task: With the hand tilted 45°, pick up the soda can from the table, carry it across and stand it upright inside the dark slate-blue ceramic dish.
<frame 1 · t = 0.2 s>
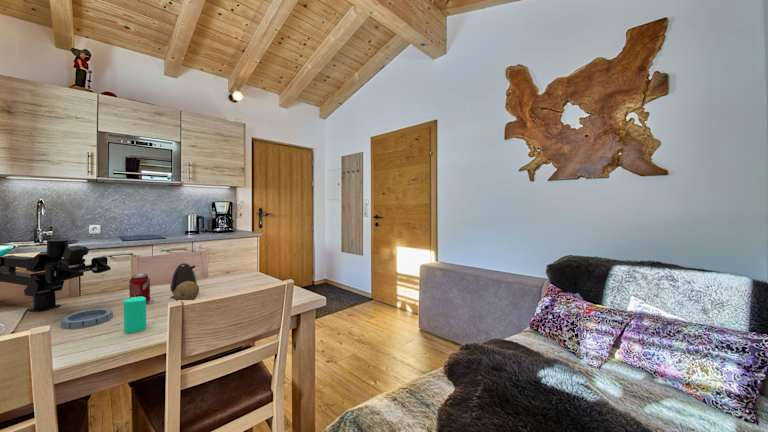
hand: (97, 271, 112), 17 cm above the table, tool horizontal, fingers open, 9 cm apart
dish: (87, 320, 107), on the table
candle: (135, 329, 102), on the table
natural sponge: (186, 304, 126), on the table
dark rounded figure: (184, 296, 137), on the table
soda can: (140, 303, 125), on the table
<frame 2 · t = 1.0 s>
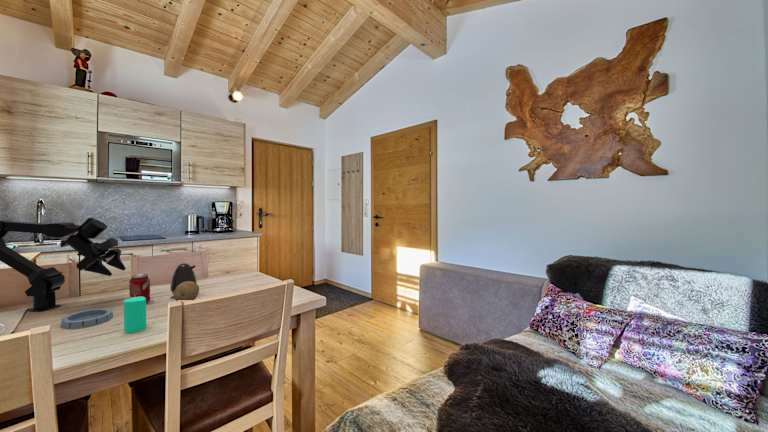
hand: (118, 272, 123), 14 cm above the table, tool tilted 45°, fingers open, 9 cm apart
nothing on the table moved.
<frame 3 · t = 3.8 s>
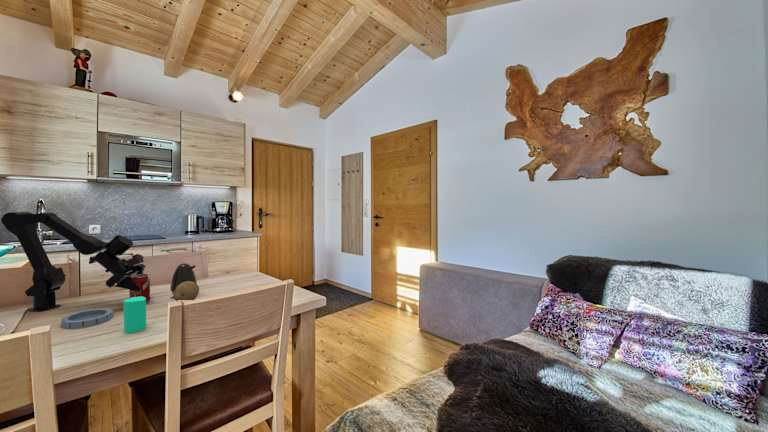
hand: (143, 287, 126), 7 cm above the table, tool tilted 45°, fingers closed on soda can, 7 cm apart
soda can: (140, 303, 125), on the table, touching gripper
everything else where it was.
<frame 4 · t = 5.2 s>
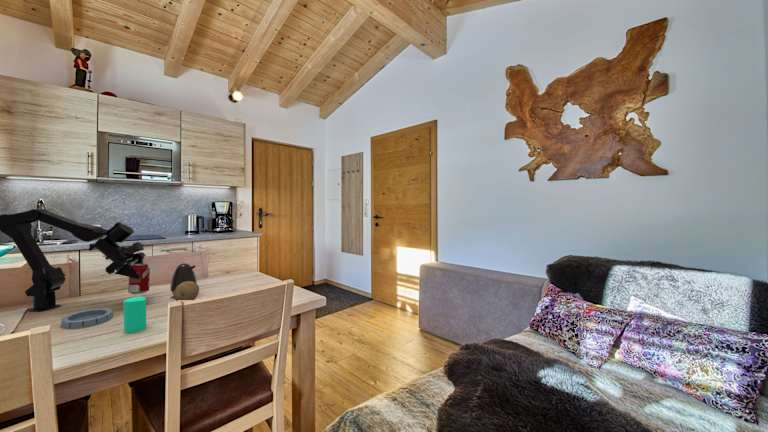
hand: (143, 276, 125), 12 cm above the table, tool tilted 45°, fingers closed on soda can, 7 cm apart
soda can: (138, 293, 124), point 5 cm above the table, touching gripper
everything else where it was.
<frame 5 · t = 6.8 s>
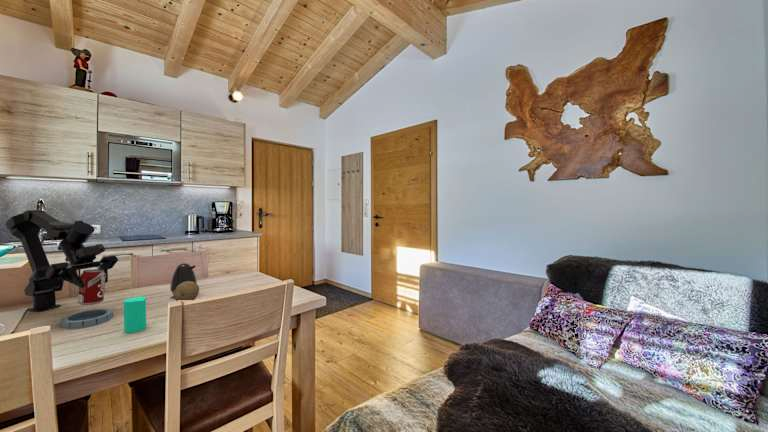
hand: (95, 284, 107), 13 cm above the table, tool tilted 45°, fingers closed on soda can, 7 cm apart
soda can: (90, 303, 107), point 6 cm above the table, touching gripper
everything else where it was.
when the fingers open (8 cm above the table, at t = 8.7 s): soda can stays where it is, resting on dish.
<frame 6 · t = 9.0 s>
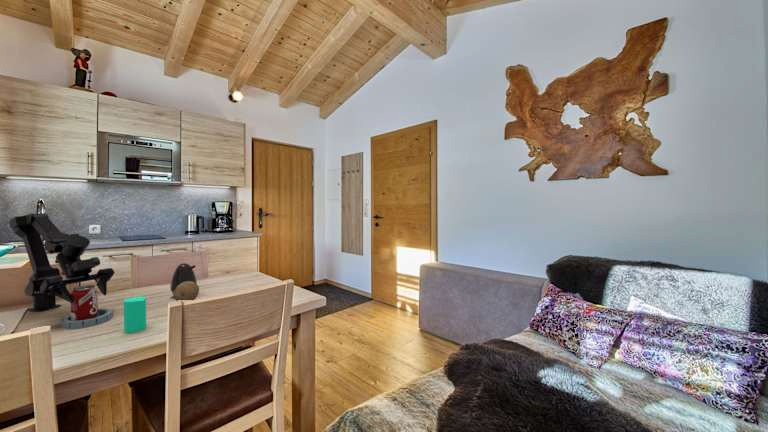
hand: (89, 298, 106), 9 cm above the table, tool tilted 45°, fingers open, 9 cm apart
soda can: (84, 320, 106), resting on dish
everything else where it was.
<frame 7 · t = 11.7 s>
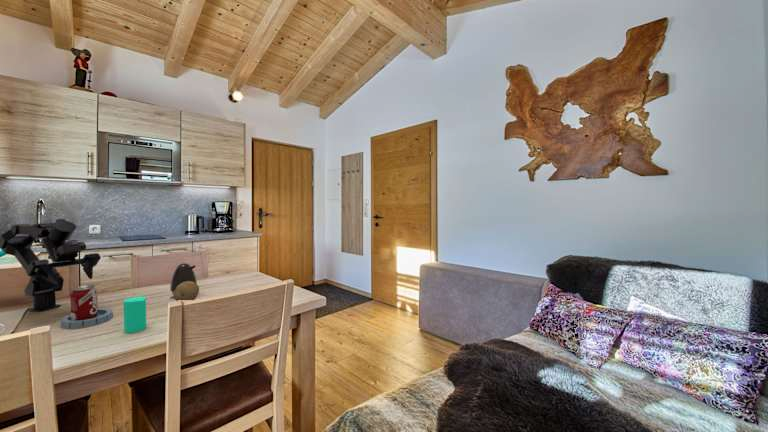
hand: (75, 281, 109), 14 cm above the table, tool tilted 45°, fingers open, 9 cm apart
nothing on the table moved.
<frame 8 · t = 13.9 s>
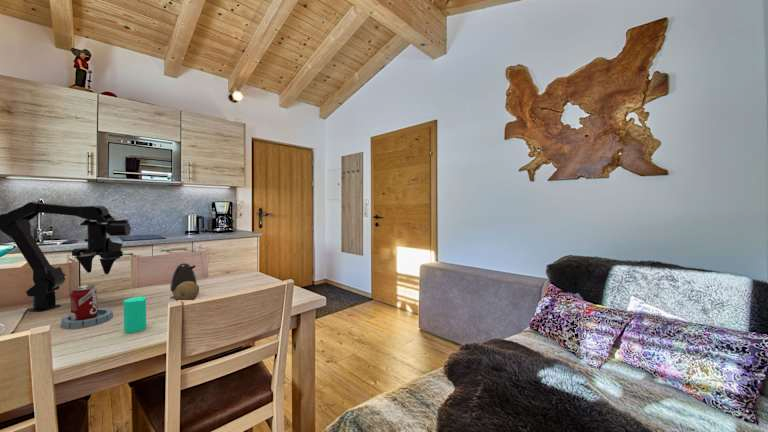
hand: (98, 273, 123), 13 cm above the table, tool pointing down, fingers open, 9 cm apart
nothing on the table moved.
at the end: soda can 0.9 cm off-centre on the dish, point 0.4 cm above the dish's base; soda can tilted 0°; the gripper is holding nothing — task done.
